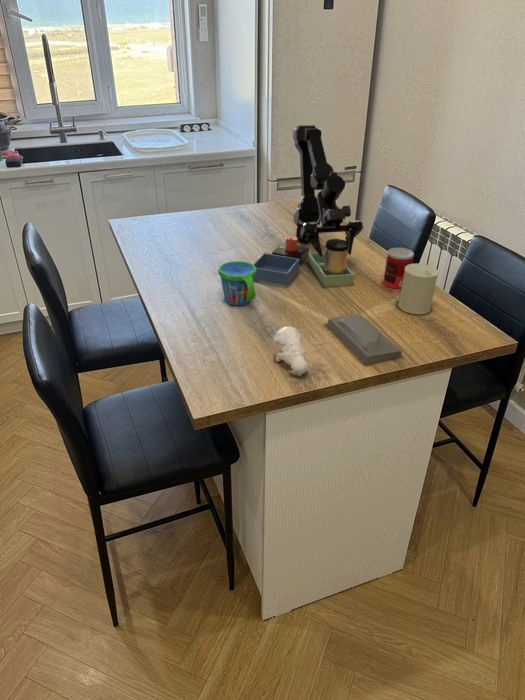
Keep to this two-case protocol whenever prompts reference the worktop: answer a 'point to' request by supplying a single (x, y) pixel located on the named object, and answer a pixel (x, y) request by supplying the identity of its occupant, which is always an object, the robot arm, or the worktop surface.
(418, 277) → the can
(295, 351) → the white animal figurine
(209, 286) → the worktop surface
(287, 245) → the tap knob
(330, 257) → the travel mug
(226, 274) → the snack cup
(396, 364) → the worktop surface
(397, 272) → the canned food
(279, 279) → the basin
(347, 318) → the soap mold
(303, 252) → the black square plate
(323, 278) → the tray
